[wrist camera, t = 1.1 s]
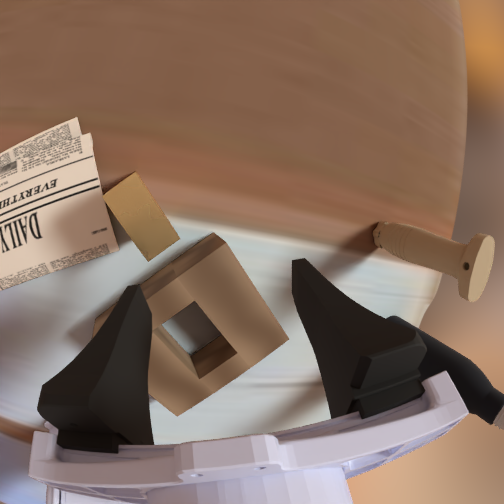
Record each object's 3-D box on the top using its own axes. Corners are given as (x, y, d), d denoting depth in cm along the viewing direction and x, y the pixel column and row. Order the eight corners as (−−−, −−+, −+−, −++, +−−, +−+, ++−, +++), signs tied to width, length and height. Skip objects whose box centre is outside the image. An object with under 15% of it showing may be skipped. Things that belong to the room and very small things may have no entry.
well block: (170, 392, 30) (177, 416, 27) (95, 318, 25) (91, 340, 22) (272, 321, 33) (289, 339, 29) (213, 232, 28) (226, 242, 24)
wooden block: (144, 234, 25) (148, 261, 18) (112, 188, 23) (101, 196, 16) (167, 218, 26) (180, 238, 19) (136, 171, 24) (135, 171, 17)
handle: (361, 257, 35) (462, 303, 22) (372, 204, 34) (481, 233, 20) (386, 259, 37) (481, 300, 24) (397, 211, 36) (498, 238, 22)
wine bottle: (391, 351, 43) (531, 451, 17) (365, 354, 41) (519, 473, 14) (406, 315, 42) (560, 408, 15) (380, 315, 40) (554, 425, 13)
